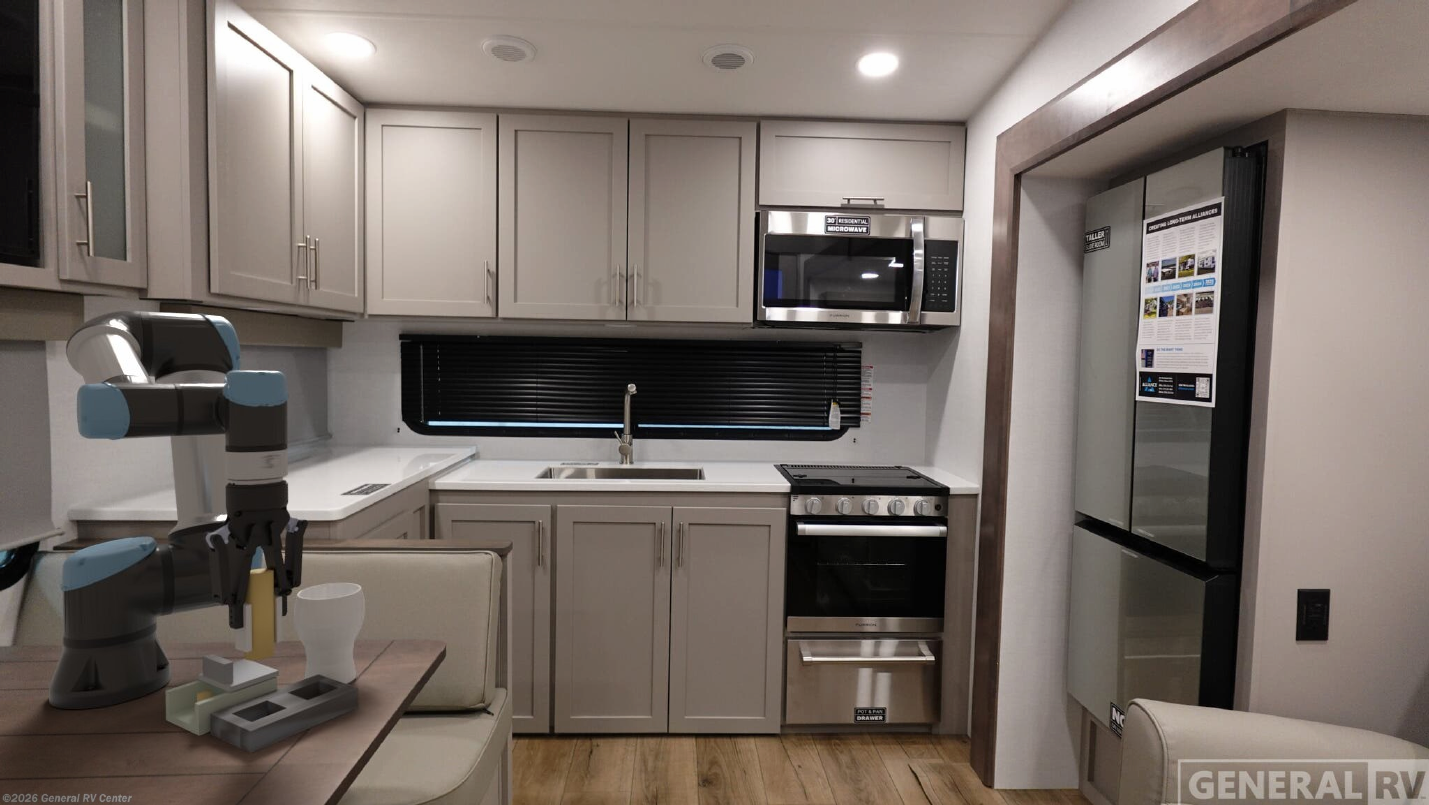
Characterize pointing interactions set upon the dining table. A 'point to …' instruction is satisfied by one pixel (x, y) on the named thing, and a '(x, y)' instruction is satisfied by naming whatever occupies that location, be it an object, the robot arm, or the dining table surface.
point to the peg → (261, 613)
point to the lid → (233, 673)
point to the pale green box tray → (207, 702)
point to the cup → (329, 628)
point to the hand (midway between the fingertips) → (259, 644)
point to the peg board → (283, 712)
